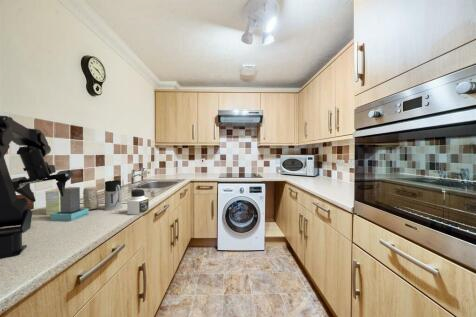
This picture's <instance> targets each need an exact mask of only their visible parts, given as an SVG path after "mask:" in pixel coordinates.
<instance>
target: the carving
mask: <svg viewBox="0 0 476 317" xmlns="http://www.w3.org/2000/svg"><path fill="white" fill-rule="evenodd" d="M82 194H83V195H82V196H83V201H82V204H83V209H88V211H90V210H96V209H99V197H98V188H97V187H96V186H90V187H84V188H83V190H82Z"/></svg>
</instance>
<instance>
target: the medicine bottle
mask: <svg viewBox="0 0 476 317" xmlns="http://www.w3.org/2000/svg"><path fill="white" fill-rule="evenodd" d="M145 194H146V191H145V189H143V188H135V189H132V190H131V194H130V195H131V198H130V199H128V200H127V202H126V204H127V205H126V206H127V208H126V210H127V215H135V216H140V215H143V214H145V213H147V212H149V211H150V210H149V208H150V207H149V197H145Z"/></svg>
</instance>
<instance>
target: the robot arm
mask: <svg viewBox="0 0 476 317" xmlns="http://www.w3.org/2000/svg"><path fill="white" fill-rule="evenodd" d="M11 143H15V145H18V146H19V147H18V150H16V155H19V157H20V159H21V162H22V164H23V168H22V169H23V172H26V173H27V176H28V178H27V177H26V176H20V177H14V178H13V177H12V178H11V175H10V171H9V168H8V165H7V162H6V159H5V155H6V154H7V152H8V150H9V149H10V144H11ZM51 150H52V148H51V146H50V145H49V143H48V140H47V139H46V135H45V134H44V132H42V130H40V129H38V128H28V127H26V126H25V125H22V124H21V123H19V122H17V121H16V120H14V119H13V118H12V117H11V116H7V115H0V259H3V258H8V257H13V256H18V255H21V253H23V251H24V250H25V249H26V248H27V247H28V245H27V244H23V234H24V233H26V232H27V231H29V230H30V229H31V226H32V225H31V224H32V218H33V211H32V210H31V209H30V205H29V203H28V202H29V201H28V200H30V201H31V202H33V203H35V202H36V201H37V200H36V197H35V195H34V193H33V190H32V189H31V184H34V183H40V182H48V181H53V180H55V181H57V182H56V183H55V185H56V187H57V188H58V189H59V192H60V194H61V196H64V192H65V188H66V184H67V182H68V181H70V179H72V177H73V176H74V173H73V171H72V170H71V169H64V170H59V171H58V172H57V171H56V166H55V164H49V163H48V162H47V161H45V157H46V156H47V155H49V154H50V153H51ZM56 172H57V173H56ZM54 173H55V174H54ZM17 194H20V195H21V196H23V198H19V197H18V196H17Z"/></svg>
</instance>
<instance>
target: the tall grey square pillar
mask: <svg viewBox="0 0 476 317" xmlns="http://www.w3.org/2000/svg"><path fill="white" fill-rule="evenodd" d="M80 190H81V188H80V187H78V186H74V187H73V186H68V187H65V192H64V196H61V194H60V214H73V213H75V212H78V211H80V209H81V195H80V194H81V193H80V192H81V191H80Z"/></svg>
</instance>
